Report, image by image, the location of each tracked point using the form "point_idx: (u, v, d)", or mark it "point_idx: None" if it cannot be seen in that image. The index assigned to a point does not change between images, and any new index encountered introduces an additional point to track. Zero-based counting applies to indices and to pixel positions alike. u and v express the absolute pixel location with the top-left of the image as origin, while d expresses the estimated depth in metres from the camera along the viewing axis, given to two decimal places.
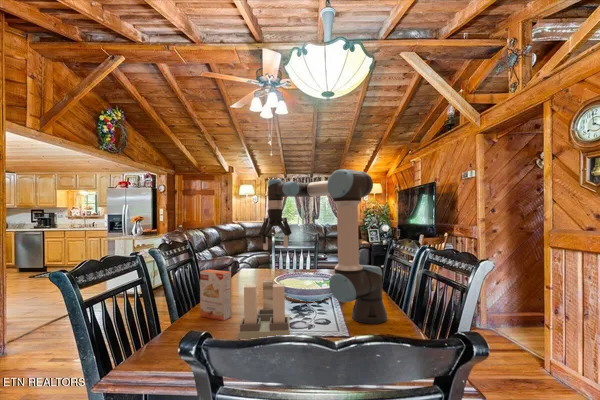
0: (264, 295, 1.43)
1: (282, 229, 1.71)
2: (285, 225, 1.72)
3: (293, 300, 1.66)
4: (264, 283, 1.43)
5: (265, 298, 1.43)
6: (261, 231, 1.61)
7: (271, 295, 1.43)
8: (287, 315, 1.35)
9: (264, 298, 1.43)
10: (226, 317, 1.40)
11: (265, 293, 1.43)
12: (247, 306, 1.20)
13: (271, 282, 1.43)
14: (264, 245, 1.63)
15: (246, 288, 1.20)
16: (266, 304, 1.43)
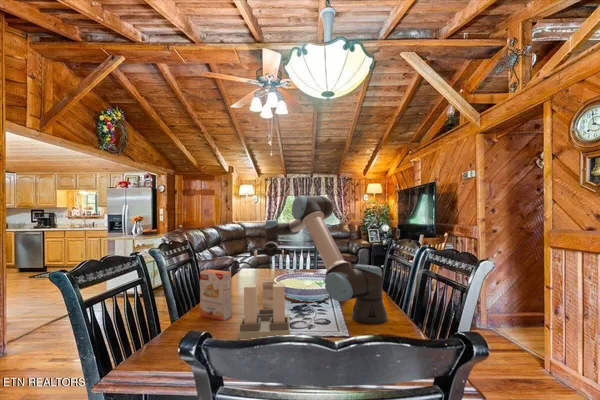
0: (264, 295, 1.43)
1: (278, 251, 1.65)
2: None
3: (293, 300, 1.66)
4: (264, 283, 1.43)
5: (265, 298, 1.43)
6: None
7: (271, 295, 1.43)
8: (287, 315, 1.35)
9: (264, 298, 1.43)
10: (226, 317, 1.40)
11: (265, 293, 1.43)
12: (247, 306, 1.20)
13: (271, 282, 1.43)
14: None
15: (246, 288, 1.20)
16: (266, 304, 1.43)
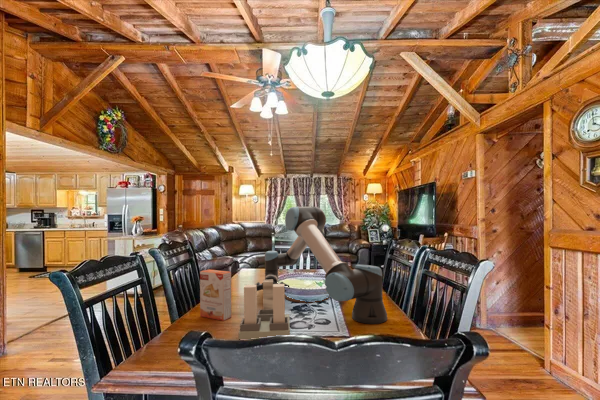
0: (264, 295, 1.43)
1: None
2: None
3: (293, 300, 1.66)
4: (264, 283, 1.43)
5: (265, 298, 1.43)
6: None
7: (271, 295, 1.43)
8: (287, 315, 1.35)
9: (264, 298, 1.43)
10: (226, 317, 1.40)
11: (265, 293, 1.43)
12: (247, 306, 1.20)
13: (271, 282, 1.43)
14: None
15: (246, 288, 1.20)
16: (266, 304, 1.43)
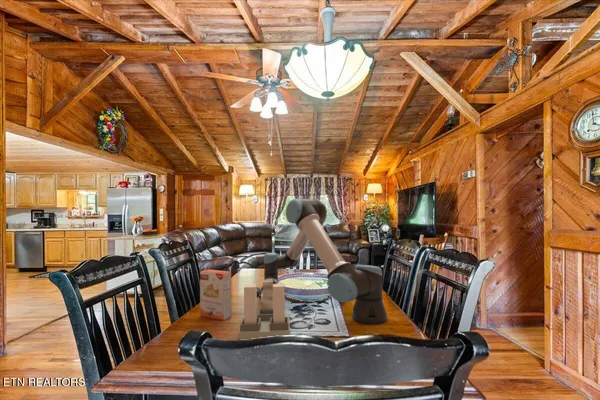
0: (264, 295, 1.43)
1: None
2: None
3: (293, 300, 1.66)
4: (264, 283, 1.43)
5: (265, 298, 1.43)
6: None
7: (271, 295, 1.43)
8: (287, 315, 1.35)
9: (264, 298, 1.43)
10: (226, 317, 1.40)
11: (265, 293, 1.43)
12: (247, 306, 1.20)
13: (271, 282, 1.43)
14: (261, 298, 1.42)
15: (246, 288, 1.20)
16: (266, 304, 1.43)
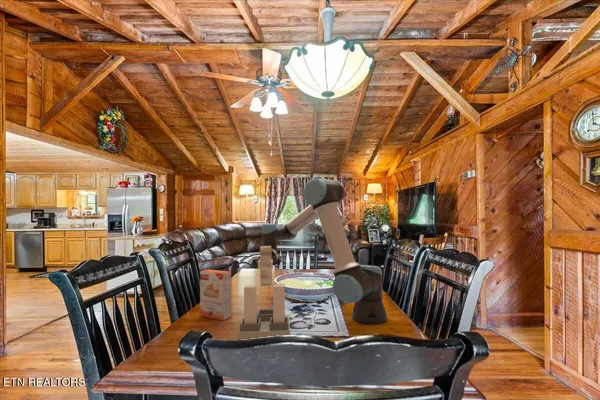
0: (261, 262, 1.31)
1: None
2: None
3: (293, 300, 1.66)
4: (261, 249, 1.32)
5: (262, 265, 1.31)
6: None
7: (269, 262, 1.32)
8: (287, 315, 1.35)
9: (261, 265, 1.31)
10: (226, 317, 1.40)
11: (262, 260, 1.31)
12: (247, 306, 1.20)
13: (269, 248, 1.32)
14: (258, 265, 1.30)
15: (246, 288, 1.20)
16: (263, 272, 1.31)
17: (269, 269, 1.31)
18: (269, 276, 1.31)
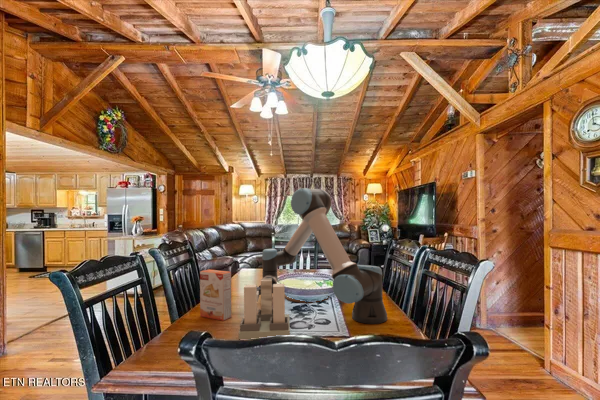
0: (262, 296, 1.31)
1: None
2: None
3: (293, 300, 1.66)
4: (262, 282, 1.31)
5: (263, 299, 1.31)
6: None
7: (270, 295, 1.31)
8: (287, 315, 1.35)
9: (262, 299, 1.31)
10: (226, 317, 1.40)
11: (263, 294, 1.31)
12: (247, 306, 1.20)
13: (270, 281, 1.31)
14: None
15: (246, 288, 1.20)
16: (264, 305, 1.31)
17: (270, 303, 1.31)
18: (270, 310, 1.31)
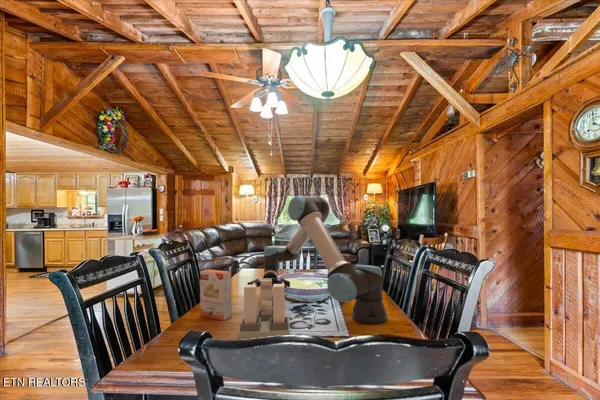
0: (262, 296, 1.31)
1: (278, 283, 1.53)
2: None
3: (293, 300, 1.66)
4: (262, 282, 1.31)
5: (263, 299, 1.31)
6: None
7: (270, 295, 1.31)
8: (287, 315, 1.35)
9: (262, 299, 1.31)
10: (226, 317, 1.40)
11: (263, 294, 1.31)
12: (247, 306, 1.20)
13: (270, 281, 1.31)
14: None
15: (246, 288, 1.20)
16: (264, 305, 1.31)
17: (270, 303, 1.31)
18: (270, 310, 1.31)
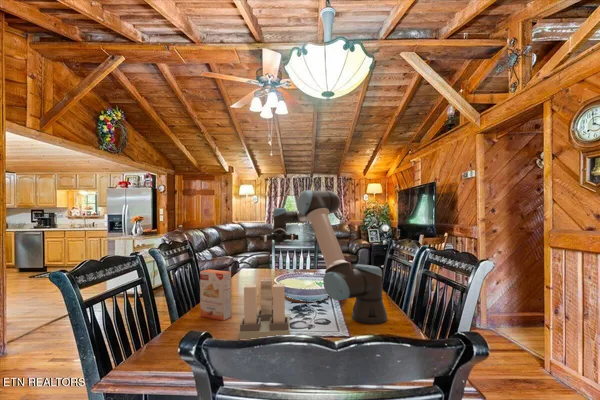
0: (262, 296, 1.31)
1: (287, 237, 1.67)
2: None
3: (293, 300, 1.66)
4: (262, 282, 1.31)
5: (263, 299, 1.31)
6: None
7: (270, 295, 1.31)
8: (287, 315, 1.35)
9: (262, 299, 1.31)
10: (226, 317, 1.40)
11: (263, 294, 1.31)
12: (247, 306, 1.20)
13: (270, 281, 1.31)
14: None
15: (246, 288, 1.20)
16: (264, 305, 1.31)
17: (270, 303, 1.31)
18: (270, 310, 1.31)
